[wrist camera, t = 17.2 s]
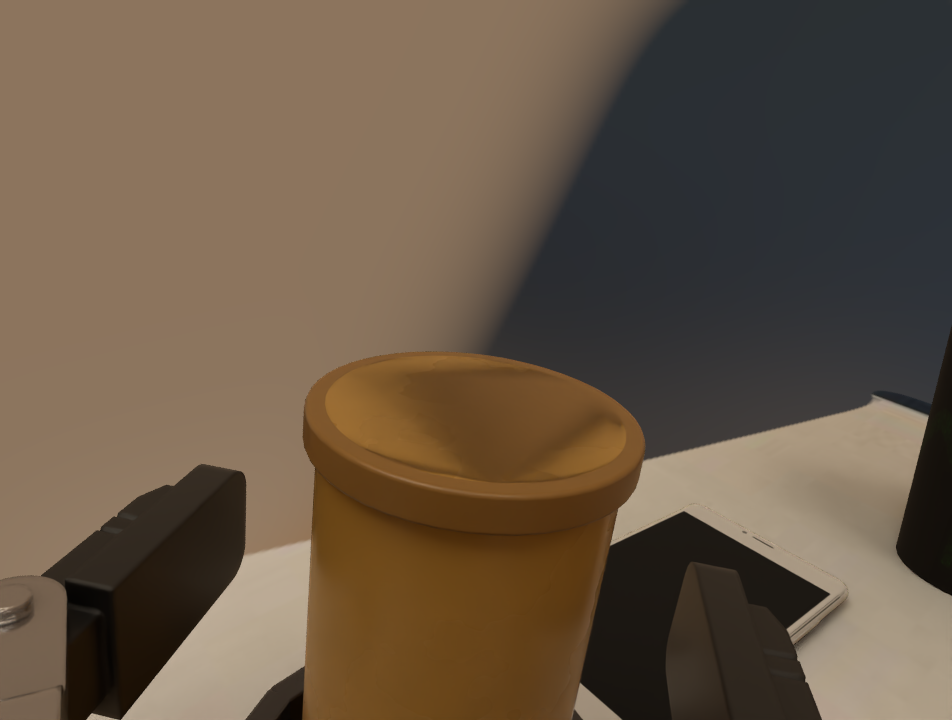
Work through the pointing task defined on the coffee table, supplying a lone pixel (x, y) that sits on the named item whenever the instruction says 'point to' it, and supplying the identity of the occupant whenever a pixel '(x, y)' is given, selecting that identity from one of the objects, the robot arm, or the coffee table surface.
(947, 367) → the cup
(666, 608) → the smartphone
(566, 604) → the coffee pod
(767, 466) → the coffee table surface
